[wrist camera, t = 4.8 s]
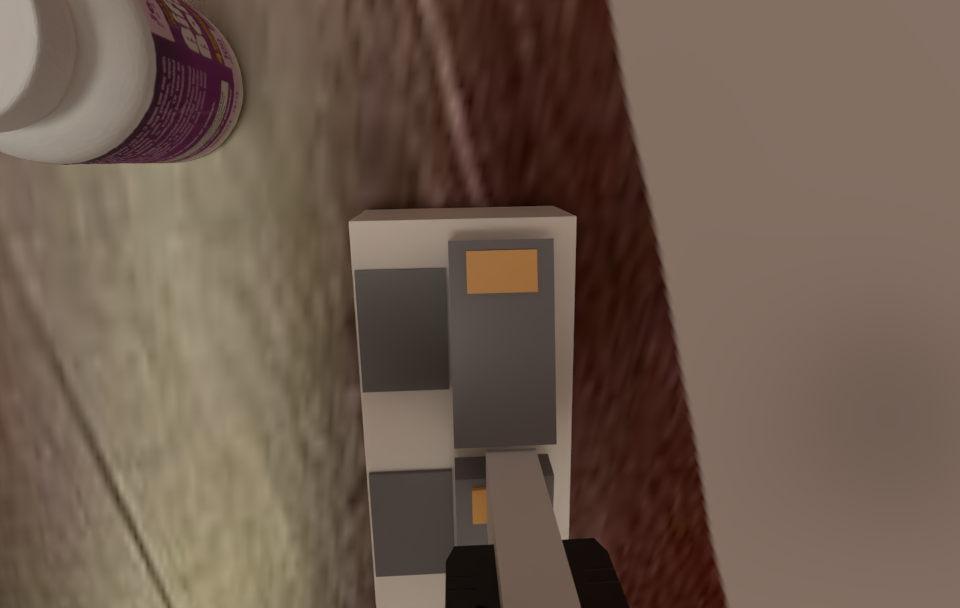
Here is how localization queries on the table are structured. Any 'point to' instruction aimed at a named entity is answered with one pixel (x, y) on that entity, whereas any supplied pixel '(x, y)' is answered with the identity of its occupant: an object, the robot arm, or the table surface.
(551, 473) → the rocker
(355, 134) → the table surface
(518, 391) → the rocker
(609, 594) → the robot arm
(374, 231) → the power strip
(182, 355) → the table surface
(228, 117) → the pill bottle
